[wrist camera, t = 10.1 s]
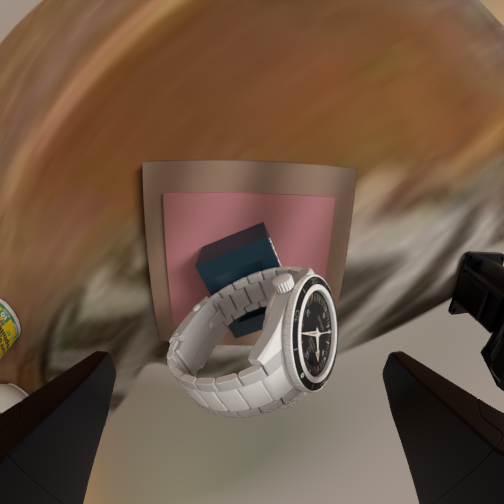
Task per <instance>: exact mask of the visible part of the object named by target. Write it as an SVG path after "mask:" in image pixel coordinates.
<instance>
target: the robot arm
mask: <svg viewBox="0 0 504 504" xmlns="http://www.w3.org/2000/svg"><path fill="white" fill-rule="evenodd" d="M503 262H504V254H502V253H494V252H471V251H469V252H467V253H466V254H465V257H464V261H463V265H462V268H461V272H460V275H459V279H458V282H457V285H456V288H455V292H454V295H453V298H452V301H451V304H450V306H449V310H448V311H449V313H450V314H452V315H454V314H462V313H469V314H470V315H471V316H472V317H473V318H474V319H475V320H476V321H478V322H479V323H480V324H481V325H482V326H483V327H484V328H485V329H486V330H487V331H488V332H489V333H491V334H492V335H491V337H490V339H489V340H488V342H487V344H486V345H485V347H483V349H482V351H481V354H482V356H483V358H484V361H485V362H486V364H487V366H488V368H489V370H490V372H491V374H492V377H493V379H494V381H495V383H496V385H497V386H498V387H499V388H500V389H501V390H503V391H504V266H503ZM115 378H116V370H115V367H114V364H113V361H112V358H111V356H110V354H109V353H108V352H105V351H96V352H94V353H93V354H91V355H90V356H88V357H87V358H85V359H83V360H82V361H80V362H79V363H77V364H76V365H74V366H73V367H71V368H70V369H68V370H67V371H65V372H64V373H62V374H61V375H59V376H58V377H56V378H55V379H53V380H52V381H50V382H49V383H47V384H46V385H44V386H42V387H41V388H39V389H38V390H36V391H35V392H33V393H32V394H30V395H29V396H27V397H26V398H24V399H23V400H22V402H21V401H20V402H18V403H17V404H15V405H14V406H12V407H10V408H9V409H7V410H6V411H4V412H2V413H1V414H0V504H83V502H84V498H85V494H86V489H87V485H88V481H89V477H90V474H91V470H92V466H93V463H94V459H95V455H96V452H97V448H98V445H99V442H100V438H101V435H102V432H103V428H104V425H105V422H106V419H107V415H108V411H109V406H110V401H111V397H112V392H113V387H114V383H115ZM383 380H384V383H385V388H386V392H387V396H388V400H389V404H390V409H391V413H392V416H393V419H394V422H395V425H396V428H397V431H398V434H399V437H400V439H401V443H402V446H403V449H404V452H405V455H406V459H407V462H408V465H409V468H410V472H411V475H412V478H413V482H414V486H415V489H416V493H417V496H418V500H419V504H504V413H502V412H500V411H498V410H496V409H495V408H493V407H491V406H490V405H488V404H486V403H484V402H483V401H481V400H480V399H477V398H476V397H475V396H473V395H472V394H470V393H468V392H467V391H465V390H463V389H462V388H460V387H459V386H457V385H455V384H454V383H452V382H450V381H449V380H447V379H446V378H444V377H442V376H441V375H439V374H438V373H436V372H434V371H433V370H431V369H430V368H428V367H426V366H425V365H423V364H421V363H420V362H418V361H417V360H415V359H413V358H412V357H410V356H409V355H407V354H405V353H404V352H401V351H398V352H392V353H390V355H389V356H388V359H387V362H386V364H385V367H384V369H383Z"/></svg>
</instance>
